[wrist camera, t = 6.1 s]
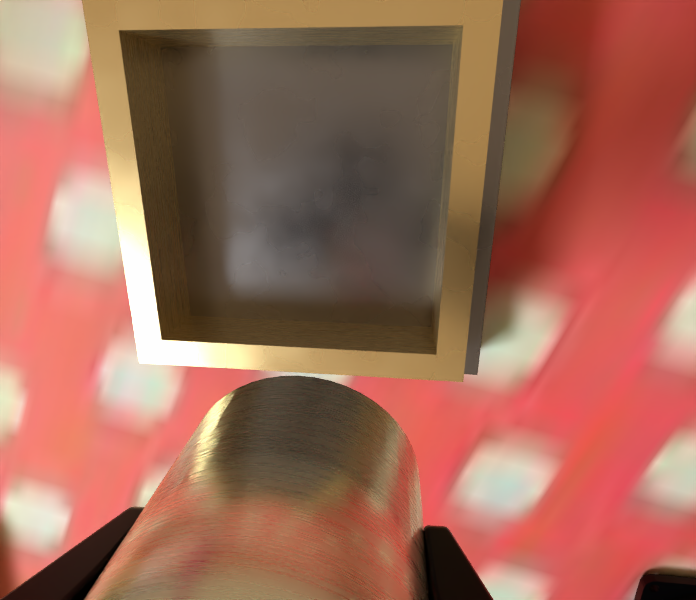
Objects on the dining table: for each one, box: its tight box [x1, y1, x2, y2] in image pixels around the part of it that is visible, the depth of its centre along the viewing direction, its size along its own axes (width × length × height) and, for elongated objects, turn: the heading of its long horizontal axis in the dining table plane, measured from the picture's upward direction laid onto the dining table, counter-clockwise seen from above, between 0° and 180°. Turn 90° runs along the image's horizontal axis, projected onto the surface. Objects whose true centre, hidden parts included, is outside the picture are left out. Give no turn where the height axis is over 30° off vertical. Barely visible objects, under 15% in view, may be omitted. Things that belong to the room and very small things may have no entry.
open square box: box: [82, 0, 521, 382], centre depth 17 cm, size 14×14×4 cm
